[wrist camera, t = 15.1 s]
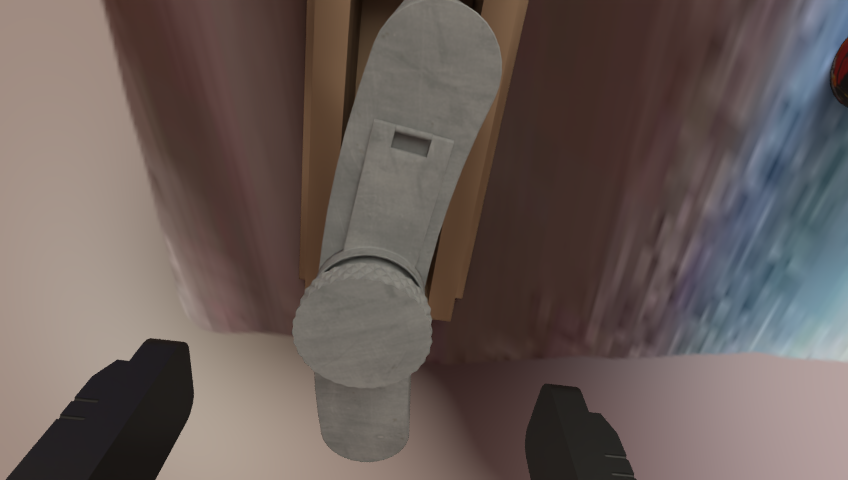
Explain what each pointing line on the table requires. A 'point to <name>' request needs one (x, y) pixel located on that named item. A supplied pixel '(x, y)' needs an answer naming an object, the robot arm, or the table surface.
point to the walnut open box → (329, 114)
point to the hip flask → (392, 220)
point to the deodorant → (840, 74)
